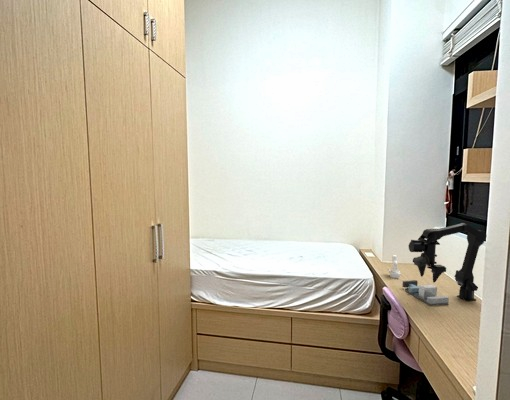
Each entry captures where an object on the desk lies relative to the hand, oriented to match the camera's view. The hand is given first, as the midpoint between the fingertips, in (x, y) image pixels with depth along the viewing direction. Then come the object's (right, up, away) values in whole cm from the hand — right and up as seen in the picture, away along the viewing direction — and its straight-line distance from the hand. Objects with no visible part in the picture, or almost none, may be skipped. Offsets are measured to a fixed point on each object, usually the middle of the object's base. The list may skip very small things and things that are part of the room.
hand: (427, 279), depth 161 cm
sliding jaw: (-2, -9, +11) cm, 14 cm away
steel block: (0, -10, +1) cm, 10 cm away
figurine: (-2, -8, +35) cm, 36 cm away
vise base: (0, -11, +2) cm, 11 cm away
